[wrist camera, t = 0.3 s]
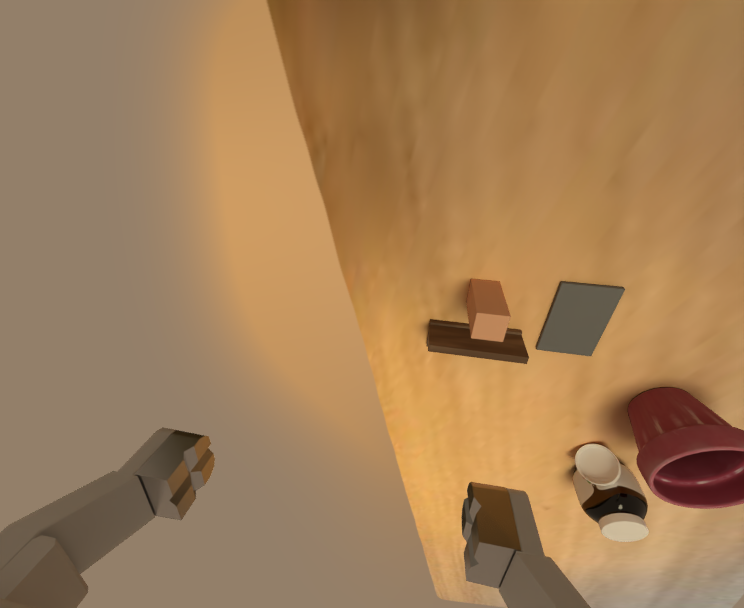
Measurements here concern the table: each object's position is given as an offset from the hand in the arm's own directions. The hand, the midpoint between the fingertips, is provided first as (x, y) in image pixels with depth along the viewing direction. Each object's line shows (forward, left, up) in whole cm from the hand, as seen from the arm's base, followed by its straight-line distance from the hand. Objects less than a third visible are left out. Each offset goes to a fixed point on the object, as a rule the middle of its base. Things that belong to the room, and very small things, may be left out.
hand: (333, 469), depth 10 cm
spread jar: (+50, +39, -39) cm, 75 cm away
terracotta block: (+15, +11, -39) cm, 43 cm away
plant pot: (+33, +43, -39) cm, 67 cm away
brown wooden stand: (+23, +11, -39) cm, 47 cm away
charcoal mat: (+18, +25, -39) cm, 50 cm away
